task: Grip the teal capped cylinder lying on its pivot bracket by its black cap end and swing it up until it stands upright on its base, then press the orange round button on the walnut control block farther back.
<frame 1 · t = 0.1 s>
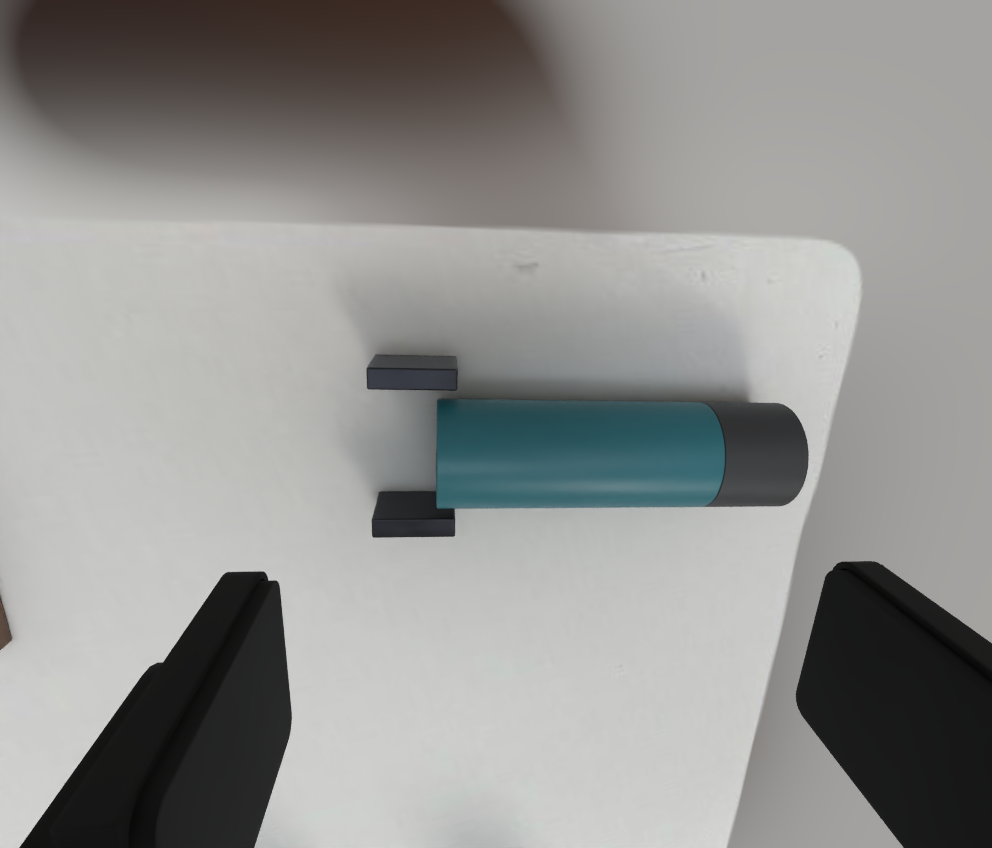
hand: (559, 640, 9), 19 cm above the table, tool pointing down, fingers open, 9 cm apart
teal capped cylinder: (611, 453, 27), point 3 cm above the table, hinge at 0.0°
pivot bracket: (435, 435, 28), on the table
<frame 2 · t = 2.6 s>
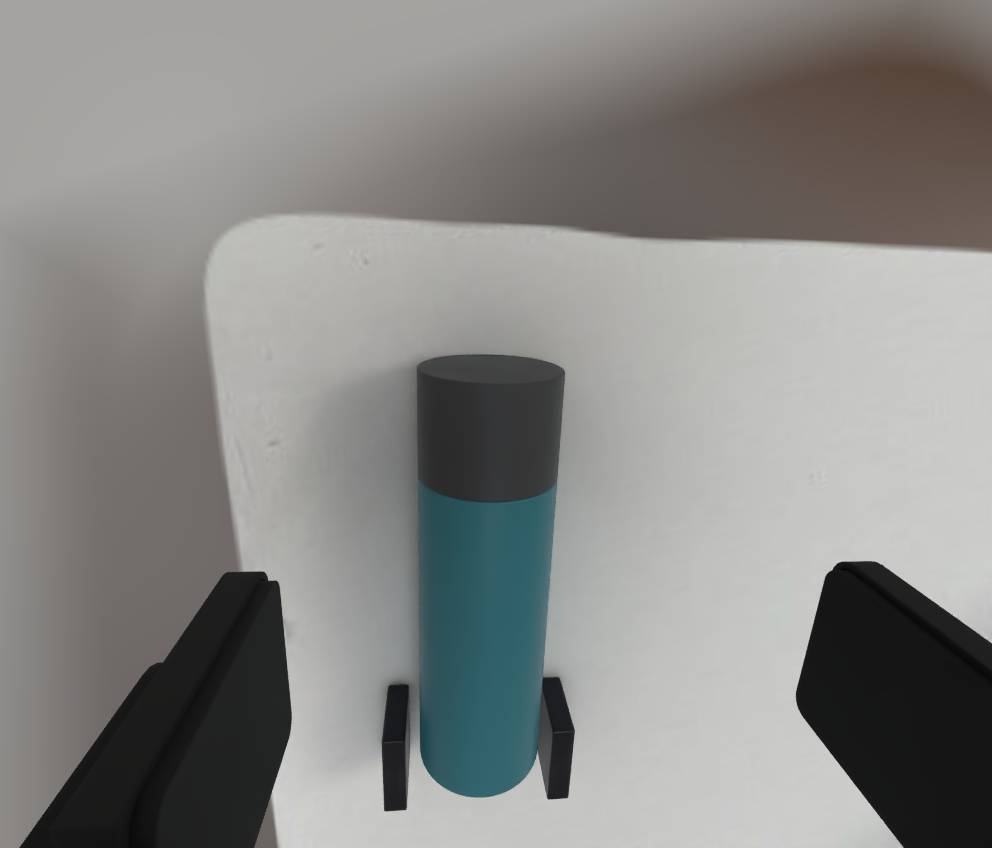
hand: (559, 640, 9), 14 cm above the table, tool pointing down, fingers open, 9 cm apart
teal capped cylinder: (484, 576, 22), point 3 cm above the table, hinge at 0.0°
pivot bracket: (474, 697, 27), on the table
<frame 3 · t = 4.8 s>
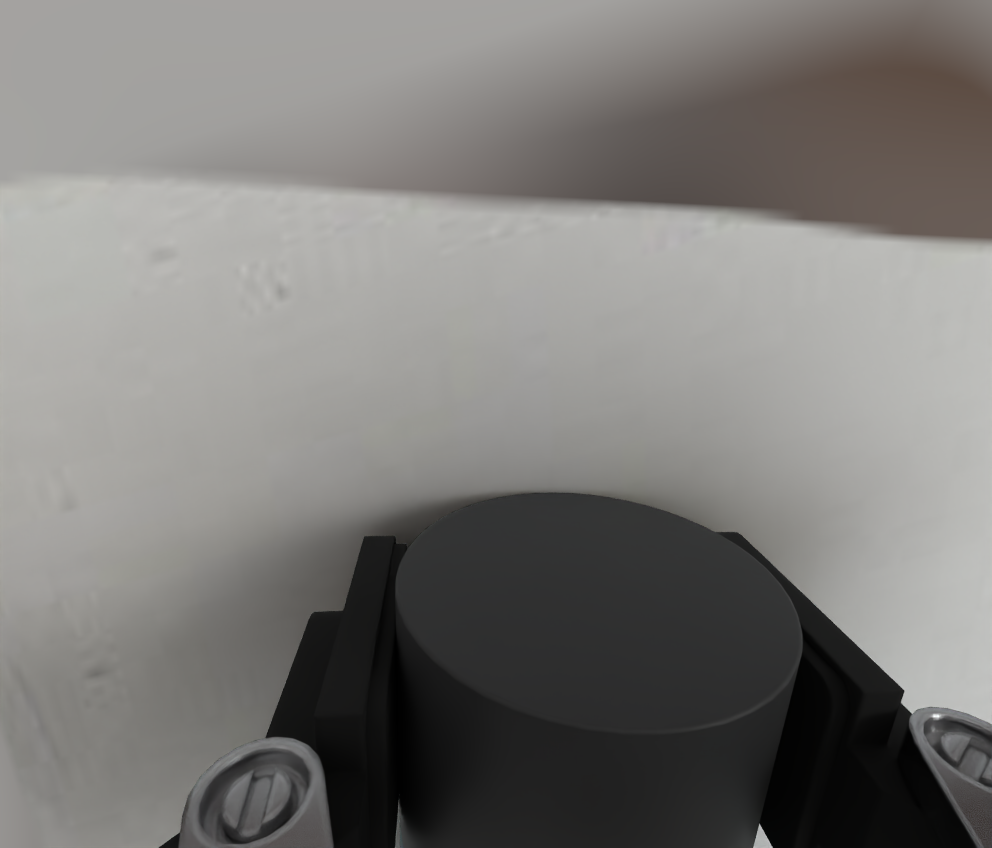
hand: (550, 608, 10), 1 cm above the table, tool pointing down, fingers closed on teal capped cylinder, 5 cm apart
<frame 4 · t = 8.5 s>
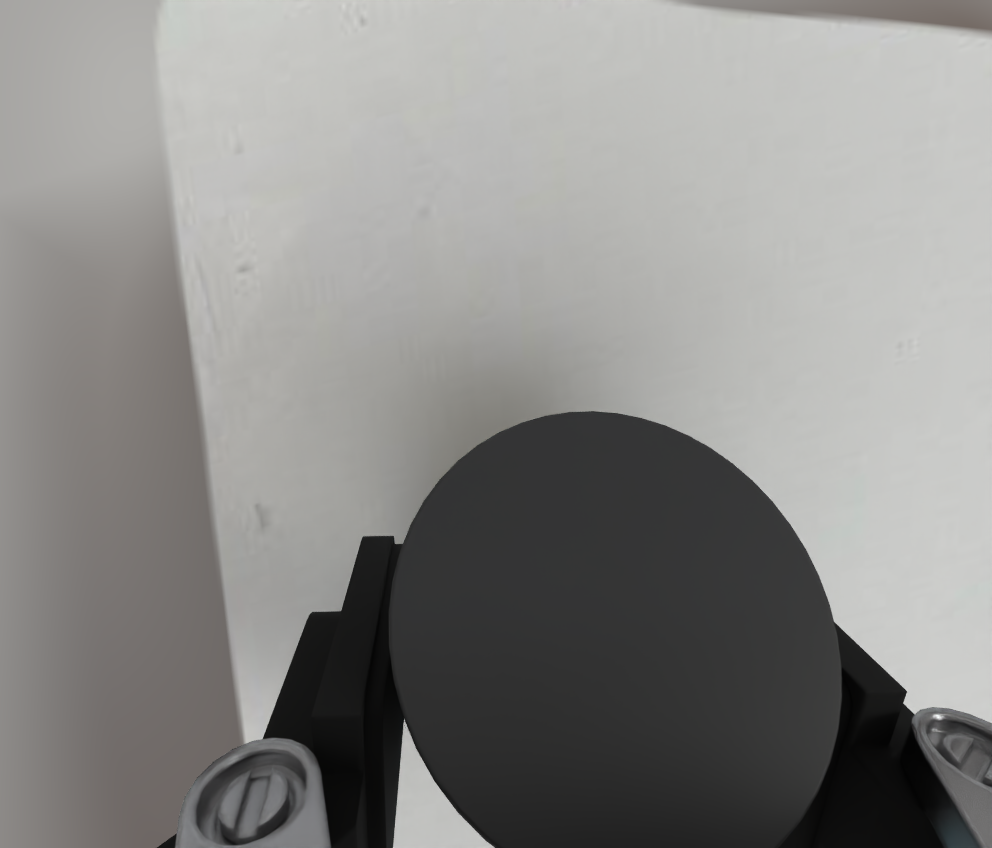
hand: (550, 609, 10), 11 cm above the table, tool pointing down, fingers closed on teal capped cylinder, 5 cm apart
teal capped cylinder: (517, 667, 14), point 8 cm above the table, hinge at 44.2°, touching gripper
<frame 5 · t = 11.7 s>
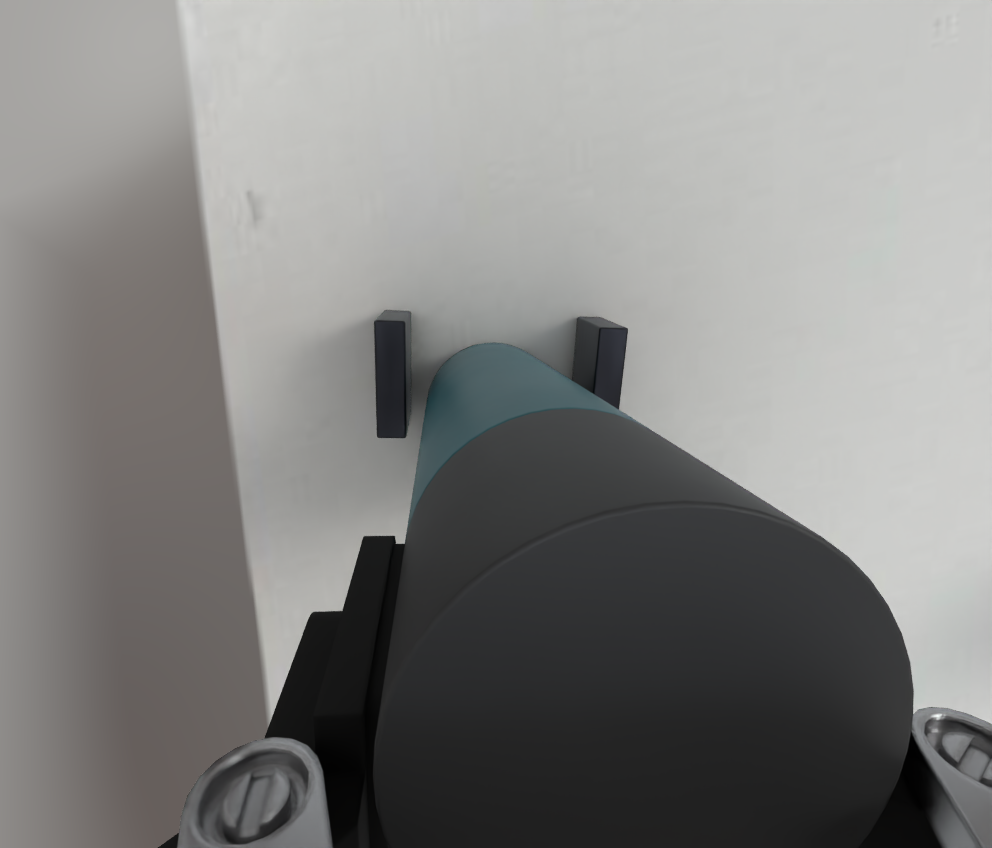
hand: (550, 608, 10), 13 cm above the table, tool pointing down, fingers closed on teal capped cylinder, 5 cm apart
teal capped cylinder: (523, 476, 13), point 9 cm above the table, hinge at 85.4°, touching gripper
pivot bracket: (494, 339, 21), on the table
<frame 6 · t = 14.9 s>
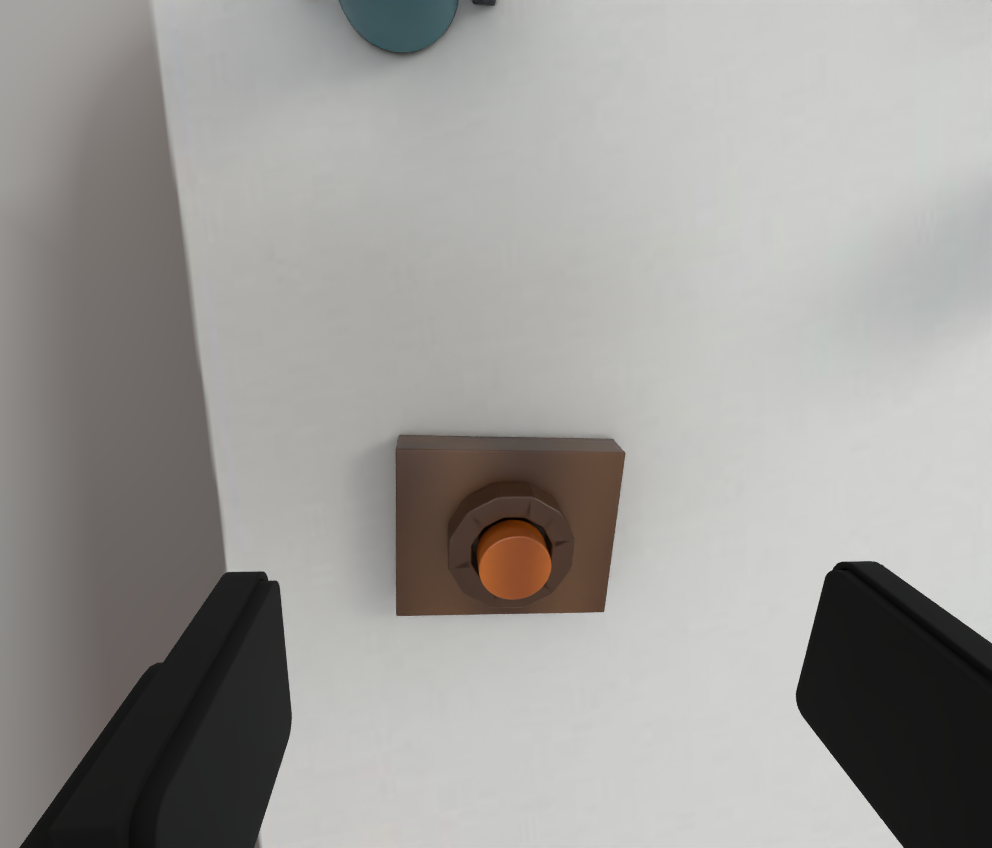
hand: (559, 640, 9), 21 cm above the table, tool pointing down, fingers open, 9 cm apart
button: (513, 559, 27), point 4 cm above the table, slide at 0.1 cm
control block: (503, 517, 32), on the table
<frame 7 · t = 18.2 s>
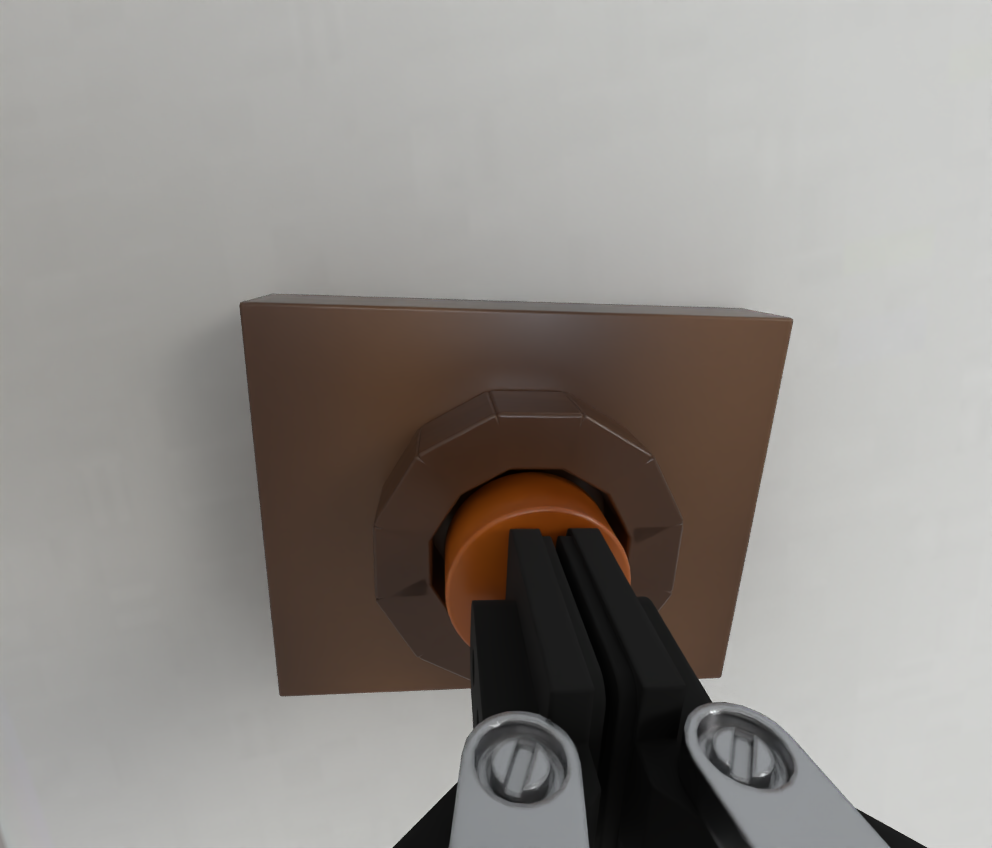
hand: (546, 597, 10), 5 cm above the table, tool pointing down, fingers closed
button: (532, 567, 11), point 4 cm above the table, slide at -0.2 cm, touching gripper
control block: (508, 483, 15), on the table
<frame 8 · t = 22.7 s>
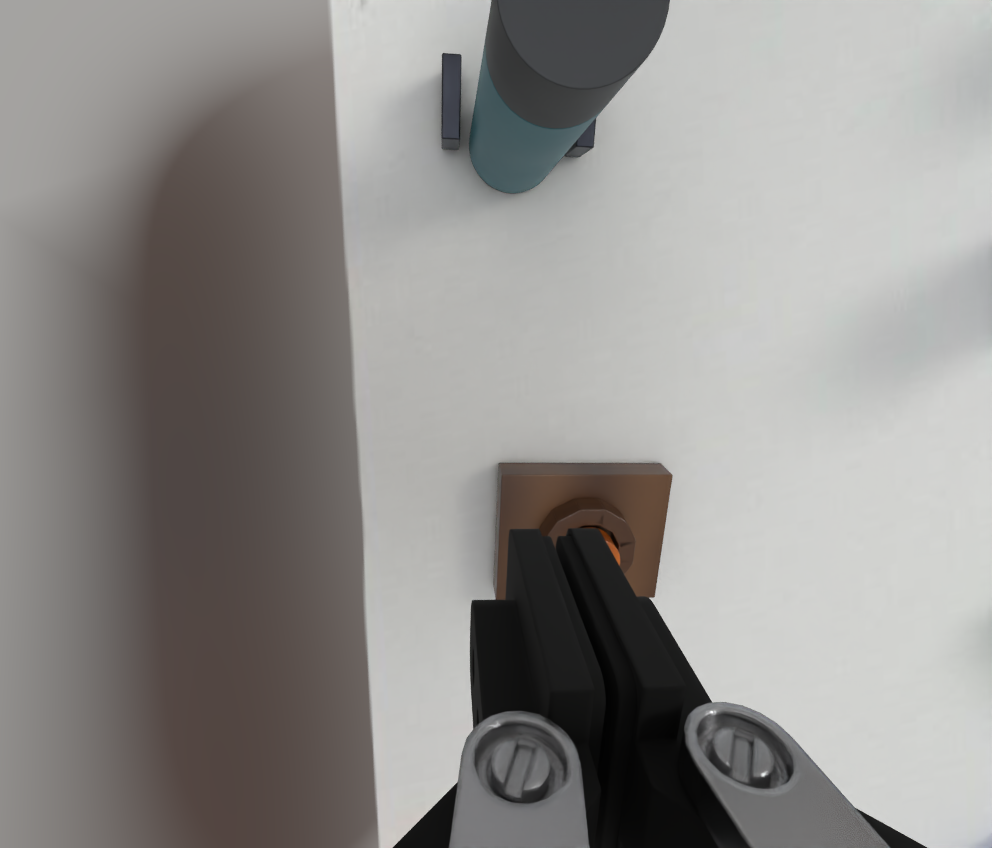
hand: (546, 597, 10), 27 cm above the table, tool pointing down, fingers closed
button: (590, 556, 36), point 4 cm above the table, slide at 0.1 cm
control block: (575, 524, 41), on the table
teal capped cylinder: (536, 95, 24), point 9 cm above the table, hinge at 85.6°
pivot bracket: (514, 96, 32), on the table
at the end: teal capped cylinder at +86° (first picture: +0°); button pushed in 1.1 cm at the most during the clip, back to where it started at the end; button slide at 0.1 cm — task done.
